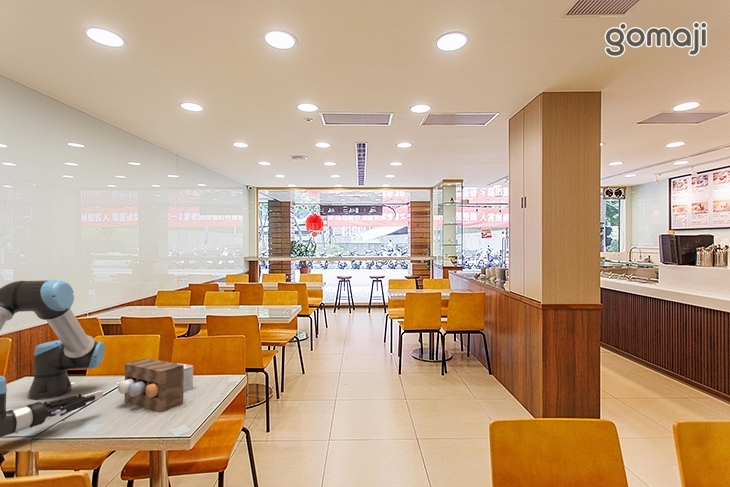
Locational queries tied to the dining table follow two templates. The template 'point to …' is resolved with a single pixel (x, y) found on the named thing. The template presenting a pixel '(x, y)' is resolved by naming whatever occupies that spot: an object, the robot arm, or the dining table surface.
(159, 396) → the panel
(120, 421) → the dining table surface
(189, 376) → the light bulb box
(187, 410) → the dining table surface
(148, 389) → the orange button
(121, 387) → the white button
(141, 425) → the dining table surface
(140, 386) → the grey button
